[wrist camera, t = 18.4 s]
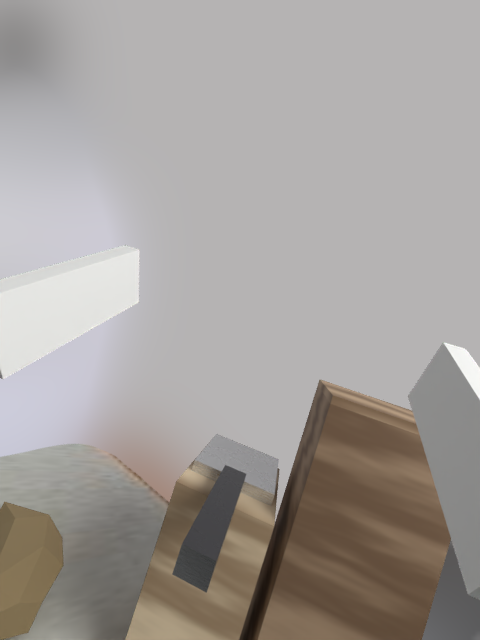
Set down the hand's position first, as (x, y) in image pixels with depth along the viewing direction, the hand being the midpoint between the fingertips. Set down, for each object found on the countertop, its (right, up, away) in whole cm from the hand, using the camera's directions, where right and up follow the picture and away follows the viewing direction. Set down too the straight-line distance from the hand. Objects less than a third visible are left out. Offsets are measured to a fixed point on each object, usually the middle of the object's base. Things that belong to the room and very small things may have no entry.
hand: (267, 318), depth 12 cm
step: (-8, -39, +20) cm, 44 cm away
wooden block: (+3, -43, +17) cm, 46 cm away
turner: (-2, -17, +16) cm, 24 cm away
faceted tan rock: (-29, -32, +17) cm, 46 cm away
